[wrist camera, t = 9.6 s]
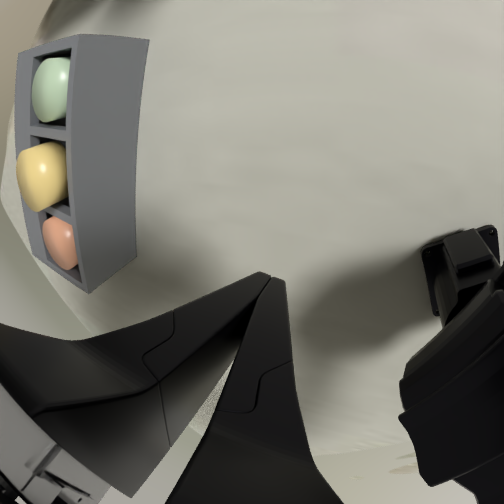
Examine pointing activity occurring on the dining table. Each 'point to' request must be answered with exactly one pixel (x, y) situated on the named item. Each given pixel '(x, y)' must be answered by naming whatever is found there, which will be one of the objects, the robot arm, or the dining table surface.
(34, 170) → the button ochre
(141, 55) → the grey compartment box
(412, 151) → the dining table surface
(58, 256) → the button terracotta
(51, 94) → the button sage
